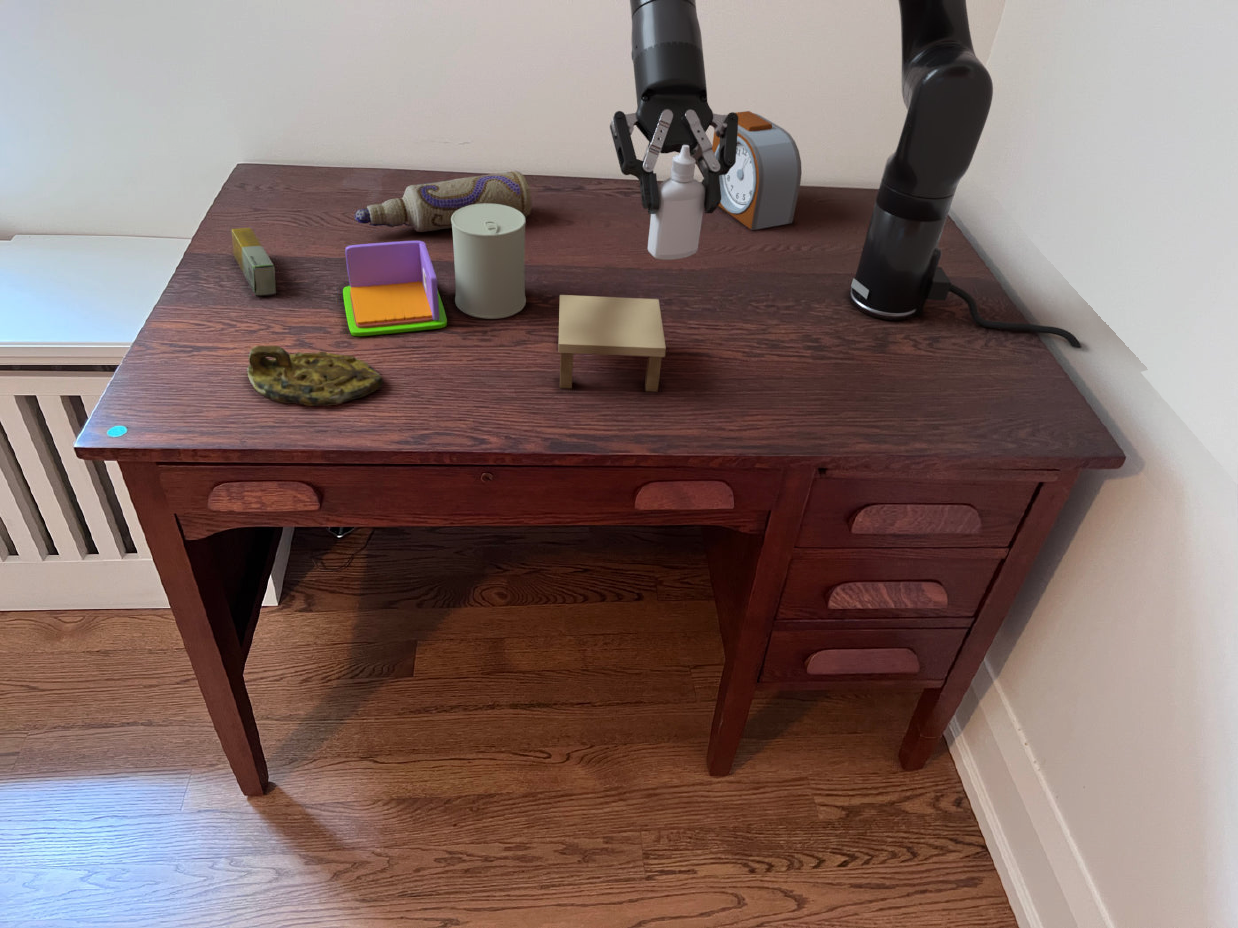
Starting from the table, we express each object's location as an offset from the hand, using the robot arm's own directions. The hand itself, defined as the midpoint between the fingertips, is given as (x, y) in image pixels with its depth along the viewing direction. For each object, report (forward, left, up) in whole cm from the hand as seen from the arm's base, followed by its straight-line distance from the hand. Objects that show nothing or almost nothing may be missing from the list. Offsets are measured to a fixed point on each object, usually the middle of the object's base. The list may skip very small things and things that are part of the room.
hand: (682, 210), depth 94 cm
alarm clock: (-17, -49, -20) cm, 56 cm away
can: (+22, -15, -20) cm, 33 cm away
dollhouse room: (+34, -12, -20) cm, 41 cm away
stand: (+7, -1, -20) cm, 21 cm away
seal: (+40, +5, -20) cm, 45 cm away
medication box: (+53, -19, -21) cm, 60 cm away
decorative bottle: (+30, -38, -21) cm, 52 cm away
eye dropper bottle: (0, -2, -6) cm, 6 cm away
